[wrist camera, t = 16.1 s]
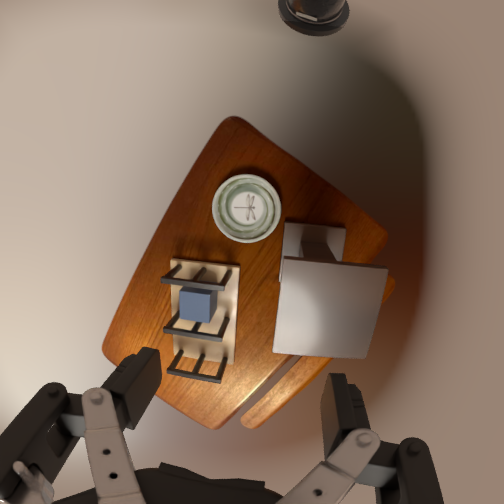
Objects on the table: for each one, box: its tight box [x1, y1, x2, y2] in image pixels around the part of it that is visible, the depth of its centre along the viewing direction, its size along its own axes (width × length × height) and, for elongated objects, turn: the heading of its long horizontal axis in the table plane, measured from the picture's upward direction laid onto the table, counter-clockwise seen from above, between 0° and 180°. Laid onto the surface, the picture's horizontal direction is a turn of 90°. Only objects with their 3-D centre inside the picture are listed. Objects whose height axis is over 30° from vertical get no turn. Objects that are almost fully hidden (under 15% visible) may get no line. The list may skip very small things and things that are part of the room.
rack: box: [161, 258, 240, 384], centre depth 45 cm, size 18×11×7 cm, turn 176°
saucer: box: [212, 174, 281, 243], centre depth 42 cm, size 10×10×2 cm
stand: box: [272, 221, 388, 359], centre depth 34 cm, size 9×9×20 cm
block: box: [179, 279, 218, 323], centre depth 44 cm, size 5×5×5 cm
